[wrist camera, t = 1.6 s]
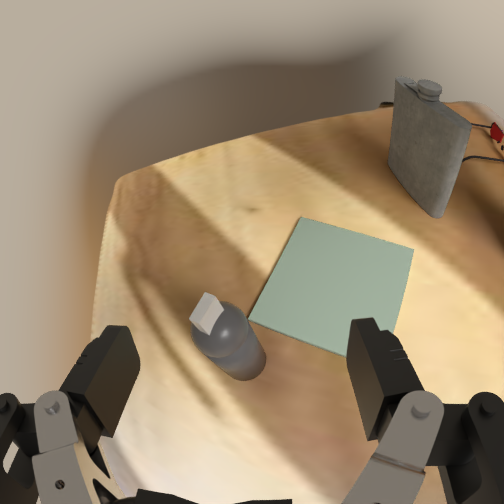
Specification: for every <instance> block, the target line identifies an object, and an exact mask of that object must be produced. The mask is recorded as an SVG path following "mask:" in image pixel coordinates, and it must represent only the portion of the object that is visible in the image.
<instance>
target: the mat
mask: <svg viewBox="0 0 504 504" xmlns="http://www.w3.org/2000/svg"><path fill="white" fill-rule="evenodd" d="M413 252H414V249H411V248H408V247H405V246H401V245H398V244H395V243H392V242H388V241H385V240H382V239H378V238H375V237H371V236H368V235H365V234H361V233H358V232H354V231H351V230H347V229H344V228H340V227H336V226H333V225H329V224H326V223H322V222H318V221H314V220H311V219H307V218H303V217H301V218H300V220H299V222H298V224H297V226H296V228H295V230H294V232H293V234H292V236H291V238H290V240H289V242H288V244H287V246H286V247H285V249H284V251H283V253H282V255H281V257H280V259H279V261H278V263H277V265H276V267H275V269H274V271H273V272H272V274H271V276H270V278H269V280H268V282H267V284H266V286H265V288H264V290H263V291H262V293H261V295H260V297H259V299H258V301H257V303H256V305H255V306H254V308H253V310H252V312H251V314H250V316H249V318H248V320H249V321H251V322H253V323H256V324H258V325H261V326H263V327H266V328H268V329H271V330H273V331H276V332H278V333H281V334H284V335H286V336H289V337H291V338H294V339H297V340H299V341H302V342H304V343H307V344H310V345H313V346H315V347H318V348H321V349H323V350H326V351H329V352H332V353H335V354H337V355H340V356H343V357H346V354H347V346H348V339H349V332H350V324H351V321H352V319H360V318H369V317H373V318H374V319H375V321H376V323H377V325H378V327H379V329H380V331H381V330H389V331H390V332H391V333H392V334H393V331H394V328H395V325H396V321H397V318H398V314H399V311H400V307H401V303H402V299H403V296H404V292H405V288H406V284H407V279H408V275H409V271H410V266H411V261H412V257H413Z"/></svg>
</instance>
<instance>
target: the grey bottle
mask: <svg viewBox="0 0 504 504" xmlns="http://www.w3.org/2000/svg"><path fill="white" fill-rule="evenodd" d="M189 320H190V321H191V337H192V340H193V342H194V344H195V346H196V347H197V348H198V349H199V350H200V351H201V352H202V353H203V354H204V355H206V356H207V357H208V358H209V359H210V360H211V361H213V362H214V363H215V364H216V365H217V366H219V367H220V368H221V369H222V370H224V371H225V372H226V373H227V374H229V375H230V376H231V377H233V378H234V379H237V380H241V381H247V380H251V379H254V378H255V377H257V376H258V375H259V374H260V373H261V372H262V371H263V369H264V367H265V364H266V354H265V352H264V350H263V348H262V346H261V344H260V342H259V340H258V339H257V337H256V335H255V333H254V331H253V329H252V328H251V326H250V324H249V322H248V320H247V318H246V316H245V315H244V313H243V312H242V311H241V310H240V309H239V308H238V307H237V306H235V305H233V304H231V303H229V302H225V301H218V300H217V298H216V296H214V295H211V294H209V293H207V292H205V293H204V295H203V296H202V298H201V299H200V301H199V303H198V304H197V306H196V308H195V309H194V311H193V313H192V314H191V316H190V318H189Z"/></svg>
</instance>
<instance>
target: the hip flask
mask: <svg viewBox="0 0 504 504" xmlns="http://www.w3.org/2000/svg"><path fill="white" fill-rule="evenodd" d="M441 92H442V87H441V86H440V85H439V84H437V83H436V82H433V81H430V80H419V81H418V84H417V83H416V82H415V81H414V80H412V79H410V78H407V77H402V76H400V77H396V80H395V98H394V109H393V121H392V131H391V140H390V148H389V156H388V165H389V167H390V168H391V170H392V172H393V173H394V175H395V176H396V178H397V179H398V180H399V182H400V183H401V184H402V186H403V187H404V188H405V189H406V191H407V192H408V193H409V194H410V195H411V197H412V198H413V199H414V200H415V201H416V202H417V203H418V204H419V205H420V206H421V207H422V208H423V209H424V210H425V211H426V212H427V213H428V214H429V215H430V216H431V217H433V218H441V217H442V216H443V214H444V211H445V209H446V206H447V203H448V201H449V198H450V195H451V193H452V190H453V187H454V184H455V181H456V178H457V175H458V172H459V169H460V166H461V163H462V160H463V157H464V153H465V150H466V147H467V143H468V139H469V136H470V132H471V128H472V125H471V123H470V122H469V121H468V120H466V119H465V118H463V117H462V116H460V115H459V114H457V113H456V112H454V111H453V110H452V109H450V108H449V107H447V106H446V105H444V104H443V103H442V102H440V101H439V95H440V94H441Z"/></svg>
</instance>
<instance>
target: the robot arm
mask: <svg viewBox="0 0 504 504" xmlns="http://www.w3.org/2000/svg"><path fill="white" fill-rule="evenodd" d="M346 361H347V368H348V372H349V375H350V379H351V382H352V386H353V389H354V393H355V396H356V400H357V403H358V407H359V411H360V415H361V418H362V422H363V426H364V430H365V434H366V438H367V441H371V440H376V439H378V442H379V445H378V447H377V449H376V450H375V452H374V454H373V455H372V456H371V458H370V460H369V461H368V463H367V465H366V466H365V468H364V470H363V471H362V473H361V475H360V476H359V478H358V479H357V481H356V482H355V484H354V486H353V487H352V489H351V490H350V492H349V493H348V495H347V496H346V498H345V499H344V501H343V502H342V503H341V504H413V502H414V500H415V498H416V496H417V494H418V492H419V489H420V487H421V485H422V483H423V480H424V477H425V472H424V468H425V466H438V469H439V473H440V477H441V480H442V484H443V488H444V492H445V496H446V500H447V504H504V402H503V401H502V400H501V398H500V397H498V396H497V395H495V394H493V393H490V392H480V393H477V394H476V395H474V396H473V397H472V398H471V400H470V401H469V403H468V404H444V403H442V402H441V400H440V399H439V398H438V397H437V396H436V395H434V394H433V393H430V392H427V391H425V390H424V388H423V386H422V384H421V382H420V380H419V378H418V376H417V374H416V372H415V370H414V368H413V366H412V364H411V362H410V360H409V359H408V356H407V354H406V352H405V351H404V350H403V347H402V345H401V343H400V341H399V339H398V338H397V337H396V336H395V335H394V334H392V333H391V332H390V331H389V330H381V331H380V329H379V327H378V325H377V323H376V321H375V319H374V318H373V317H369V318H360V319H352V321H351V324H350V332H349V339H348V346H347V354H346ZM139 371H140V357H139V354H138V352H137V349H136V346H135V344H134V341H133V338H132V335H131V332H130V330H129V328H128V327H127V326H115V325H108V326H107V327H106V328H105V329H104V331H103V332H102V334H101V335H100V337H99V338H96V339H94V340H93V341H92V342H91V343H89V344H88V345H87V346H86V348H85V349H84V351H83V352H82V354H81V357H79V359H78V360H77V362H76V364H75V365H74V366H73V368H72V369H71V371H70V373H69V374H68V376H67V378H66V379H65V381H64V382H63V384H62V386H61V387H60V389H59V391H50V392H47V393H45V394H43V395H42V396H40V398H39V399H38V400H37V401H36V403H32V404H21V403H20V402H19V401H18V399H17V398H16V397H15V395H13V394H11V393H4V394H1V395H0V504H36V502H37V499H38V496H39V497H40V501H41V504H198V503H195V502H192V501H189V500H186V499H183V498H180V497H178V496H175V495H172V494H165V493H159V492H153V491H148V490H143V489H138V491H137V495H136V497H127V498H126V496H125V495H124V493H123V492H122V490H121V489H120V488H119V486H118V484H117V483H116V480H115V478H114V476H113V474H112V471H111V469H110V466H109V464H108V462H107V459H106V456H105V454H104V451H103V449H102V446H101V444H100V443H99V439H100V437H101V435H102V436H106V437H111V438H113V435H114V433H115V430H116V428H117V425H118V423H119V420H120V418H121V415H122V413H123V410H124V408H125V405H126V403H127V400H128V398H129V395H130V393H131V391H132V388H133V386H134V383H135V381H136V379H137V376H138V374H139ZM12 441H13V442H14V443H15V444H16V445H17V447H18V448H19V449H18V451H17V454H16V456H15V458H14V460H13V462H12V465H11V467H10V470H9V472H8V474H7V473H6V472H5V470H4V468H3V459H4V457H5V455H6V453H7V451H8V449H9V447H10V445H11V443H12ZM235 504H292V499H285V500H251V501H246V502H241V503H235Z"/></svg>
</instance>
